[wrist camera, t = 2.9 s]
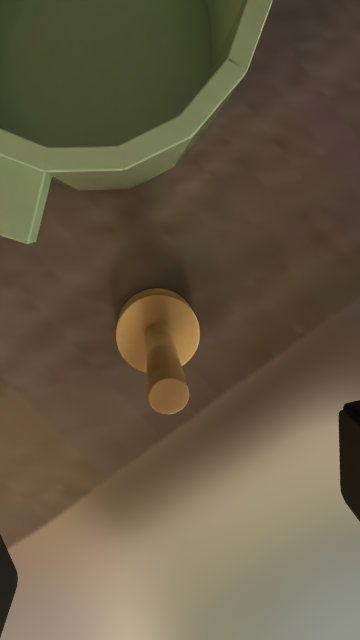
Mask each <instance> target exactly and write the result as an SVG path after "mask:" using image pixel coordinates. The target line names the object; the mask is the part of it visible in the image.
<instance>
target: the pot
mask: <svg viewBox="0 0 360 640" xmlns="http://www.w3.org/2000/svg"><path fill="white" fill-rule="evenodd" d="M272 1H273V0H0V235H1V236H4V237H7V238H10V239H13V240H16V241H19V242H22V243H25V244H30V243H35V242H36V239H37V235H38V231H39V227H40V223H41V219H42V215H43V211H44V207H45V203H46V199H47V195H48V191H49V187H50V183H51V180H54V181H56V182H59V183H61V184H64V185H67V186H69V187H72V188H74V189H77V190H115V189H129V188H132V187H134V186H136V185H138V184H141V183H143V182H145V181H148V180H150V179H152V178H154V177H156V176H157V175H159V174H161V173H163V172H165V171H167V170H169V169H171V168H172V167H174V166H175V165H176V164H177V162H178V161H179V160H180V159H181V158H182V156H183V155H184V154H185V153H186V152H187V151H188V150H189V148H190V147H191V146H192V145H193V144H194V142H195V141H196V140H197V139H198V138H199V136H200V135H201V134H202V133H203V132H204V131H205V129H206V128H207V127H208V125H209V124H210V123H211V121H212V120H213V118H214V117H215V116H216V114H217V113H218V112H219V110H220V109H221V107H222V106H223V105H224V103H225V102H226V101H227V99H228V98H229V97H230V95H231V94H232V92H233V91H234V90H235V88H236V87H237V86H238V84H239V83H240V81H241V80H242V79H243V77H244V76H245V74H246V73H247V71H248V68H249V65H250V62H251V60H252V57H253V54H254V51H255V49H256V46H257V43H258V40H259V38H260V35H261V32H262V29H263V26H264V24H265V21H266V18H267V15H268V13H269V10H270V7H271V4H272Z"/></svg>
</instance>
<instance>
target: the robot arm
mask: <svg viewBox="0 0 360 640" xmlns="http://www.w3.org/2000/svg"><path fill="white" fill-rule="evenodd" d="M339 443H340V445H339V446H340V485H341V493H342V496H343V498H344V500H345V502H346V504H347V505H348V506H349V508H350V509H351V510H352V512H353V513H354V514H355V516H356V517H357V518H358V520H359V521H360V400H359V401H354V402H350V403H346V404H345V405H344V407H343V410H341V411H340V412H339ZM17 580H18V577H17V571H16V568H15V566H14V564H13V562H12V559H11V557H10V555H9V553H8V550H7V548H6V546H5V544H4V542H3V539H2V537H1V535H0V637H1V634H2V631H3V627H4V624H5V622H6V618H7V615H8V612H9V609H10V606H11V603H12V600H13V597H14V594H15V591H16V587H17Z"/></svg>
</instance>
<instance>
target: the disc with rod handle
mask: <svg viewBox="0 0 360 640" xmlns="http://www.w3.org/2000/svg"><path fill="white" fill-rule="evenodd" d="M199 338H200V329H199V323H198V320H197V318H196V316H195V314H194V312H193V311H192V309H191V307H190V306H189V304H188V303H187V302H186V300H185V299H184V298H182V297H181V296H180V295H179V294H177V293H175V292H173V291H170V290H167V289H162V288H152V289H147V290H143V291H141V292H139V293H137V294H135V295H134V296H132V297H131V298H130V299H129V300H128V301H127V302H126V303H125V305H124V306H123V308H122V309H121V312H120V314H119V318H118V322H117V327H116V342H117V346H118V349H119V351H120V353H121V355H122V356H123V358H124V359H125V360H126V361H127V362H128V363H129V364H130V365H131V366H133V367H134V368H136V369H138V370H140V371H143V372H146V373H147V383H148V399H149V403H150V405H151V406H152V407H153V409H155V410H156V411H157V412H160V413H163V414H173V413H176V412H178V411H180V410H181V409H182V408H184V406H185V405H186V404H187V402H188V399H189V390H188V386H187V383H186V380H185V376H184V373H183V369H182V366H183V365H184V364H185V363H186V362H187V361H188V360H189V359H190V358H191V357H192V356H193V354H194V353H195V351H196V349H197V346H198V343H199Z"/></svg>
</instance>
